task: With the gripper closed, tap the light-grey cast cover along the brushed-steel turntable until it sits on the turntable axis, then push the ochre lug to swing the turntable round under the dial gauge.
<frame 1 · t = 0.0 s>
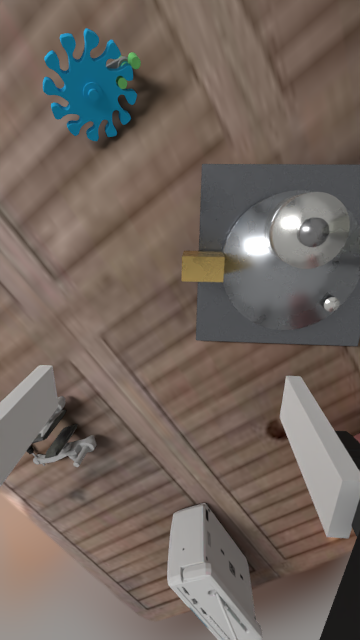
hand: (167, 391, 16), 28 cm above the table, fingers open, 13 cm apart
turntable: (273, 266, 37), point 4 cm above the table, hinge at 0.0°, touching cover
blue virus model: (106, 101, 36), on the table
turntable base: (284, 261, 41), on the table
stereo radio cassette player: (212, 533, 61), on the table
bike brake: (43, 428, 55), on the table
cover: (296, 229, 36), point 3 cm above the table, touching turntable
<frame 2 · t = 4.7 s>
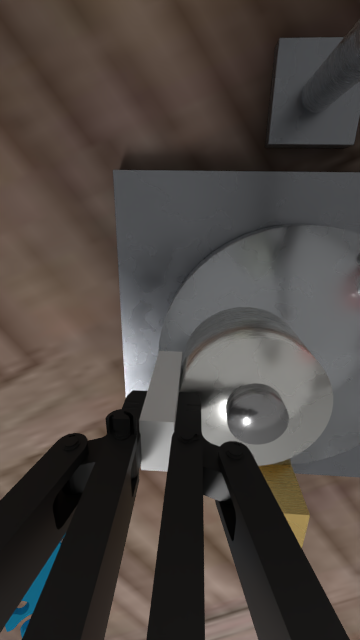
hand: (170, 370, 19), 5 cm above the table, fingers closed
turntable: (288, 404, 20), point 4 cm above the table, hinge at 0.0°
blue virus model: (71, 531, 33), on the table
turntable base: (276, 343, 23), on the table
dial gauge: (312, 100, 17), on the table
cover: (241, 362, 20), point 3 cm above the table, touching gripper
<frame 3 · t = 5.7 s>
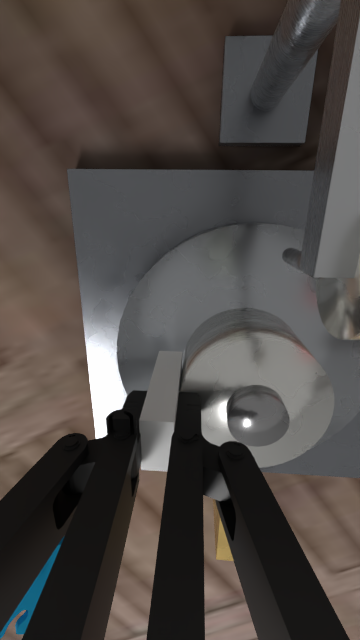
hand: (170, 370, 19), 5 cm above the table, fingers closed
turntable: (245, 402, 20), point 4 cm above the table, hinge at 0.0°, touching cover
blue virus model: (46, 530, 33), on the table
turntable base: (240, 342, 23), on the table
dial gauge: (263, 98, 17), on the table
cover: (241, 363, 20), point 3 cm above the table, touching gripper, turntable
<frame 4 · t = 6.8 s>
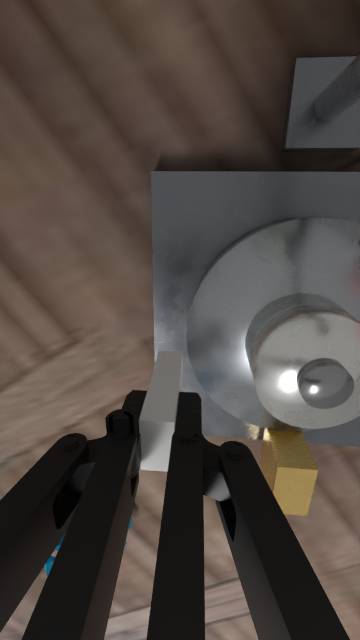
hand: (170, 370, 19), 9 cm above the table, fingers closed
turntable: (300, 374, 23), point 4 cm above the table, hinge at 0.0°, touching cover
turntable base: (289, 324, 26), on the table
dial gauge: (323, 109, 20), on the table
cover: (297, 342, 23), point 3 cm above the table, touching turntable
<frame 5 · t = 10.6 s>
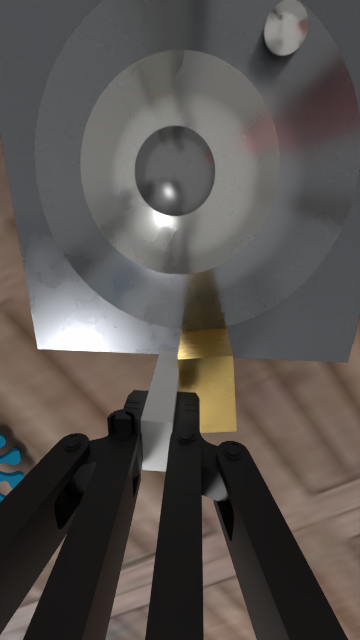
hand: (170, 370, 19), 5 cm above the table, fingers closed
turntable: (195, 229, 16), point 4 cm above the table, hinge at 7.0°, touching cover, gripper
turntable base: (193, 186, 19), on the table
cover: (186, 185, 16), point 3 cm above the table, touching turntable
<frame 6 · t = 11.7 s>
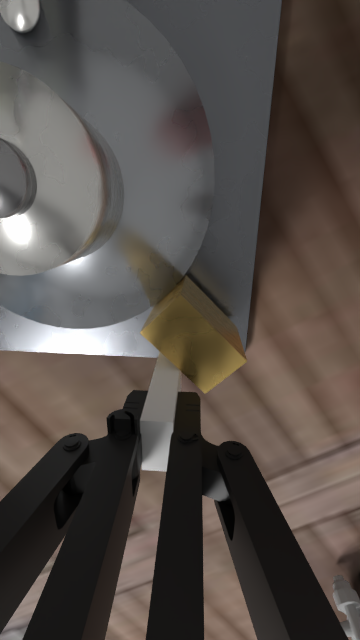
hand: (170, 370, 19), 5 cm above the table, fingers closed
turntable: (83, 216, 16), point 4 cm above the table, hinge at 45.6°, touching cover, gripper
turntable base: (79, 188, 20), on the table
cover: (55, 189, 17), point 3 cm above the table, touching turntable
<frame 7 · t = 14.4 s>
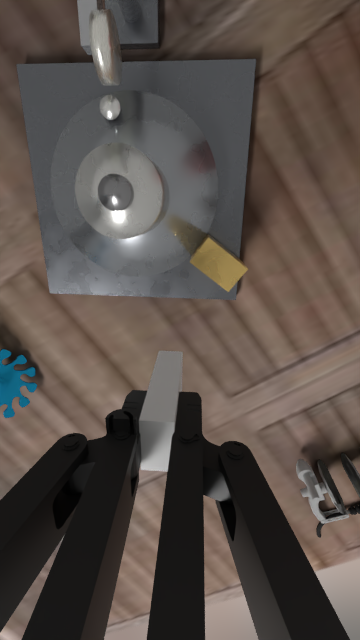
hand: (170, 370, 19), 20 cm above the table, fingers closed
turntable: (150, 207, 30), point 4 cm above the table, hinge at 53.8°, touching cover
blue virus model: (13, 367, 44), on the table
turntable base: (139, 194, 34), on the table
bike brake: (341, 484, 47), on the table
dial gauge: (133, 16, 28), on the table
cover: (132, 196, 31), point 3 cm above the table, touching turntable
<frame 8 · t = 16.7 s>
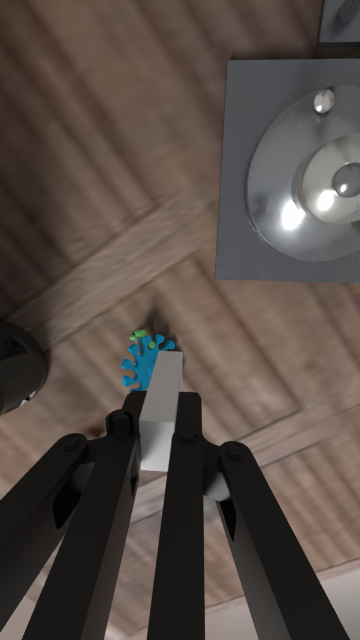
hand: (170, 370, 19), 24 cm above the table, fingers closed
turntable: (348, 195, 32), point 4 cm above the table, hinge at 53.8°, touching cover
blue virus model: (155, 352, 46), on the table
turntable base: (317, 184, 36), on the table
dial gauge: (344, 16, 31), on the table
cover: (327, 184, 33), point 3 cm above the table, touching turntable
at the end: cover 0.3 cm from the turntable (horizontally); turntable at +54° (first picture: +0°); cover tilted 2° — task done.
